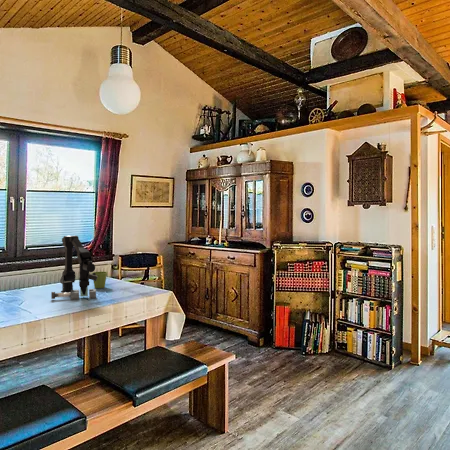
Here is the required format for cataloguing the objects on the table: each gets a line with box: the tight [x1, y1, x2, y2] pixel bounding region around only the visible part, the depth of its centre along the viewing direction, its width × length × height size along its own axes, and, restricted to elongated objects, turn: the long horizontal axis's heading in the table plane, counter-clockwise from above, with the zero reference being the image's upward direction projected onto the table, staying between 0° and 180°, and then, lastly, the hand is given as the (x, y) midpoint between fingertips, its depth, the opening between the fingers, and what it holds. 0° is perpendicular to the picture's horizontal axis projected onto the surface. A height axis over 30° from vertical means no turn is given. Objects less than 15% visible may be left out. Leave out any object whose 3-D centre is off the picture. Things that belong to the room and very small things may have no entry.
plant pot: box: [90, 271, 108, 289], centre depth 289 cm, size 12×12×11 cm
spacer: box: [79, 286, 89, 297], centre depth 256 cm, size 4×6×6 cm
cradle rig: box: [70, 288, 97, 301], centre depth 256 cm, size 16×8×5 cm, turn 111°
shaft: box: [50, 291, 71, 300], centre depth 252 cm, size 16×4×4 cm, turn 111°
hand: (84, 293), depth 256 cm, fingers closed on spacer, 6 cm apart
